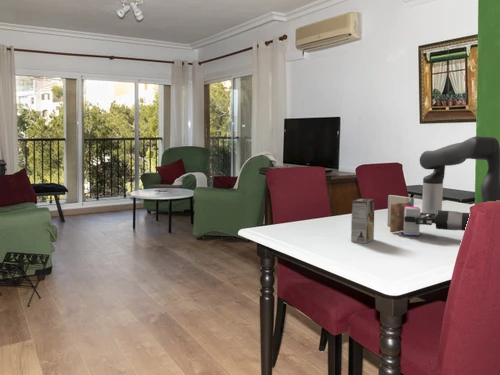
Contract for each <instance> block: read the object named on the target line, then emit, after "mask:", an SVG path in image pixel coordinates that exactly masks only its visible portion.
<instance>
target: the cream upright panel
mask: <svg viewBox="0 0 500 375" xmlns="http://www.w3.org/2000/svg"><path fill="white" fill-rule="evenodd" d="M387 197H388V198H387V221H386V222H387V223H386V224H387V227H390V219H391V204H394V203H402V202H410V207H415V206H414V204H415V198H414V197H409V196H408V197H407V196H401V195H395V194H393V195H392V194H389V195H387Z"/></svg>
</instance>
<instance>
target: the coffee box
mask: <svg viewBox="0 0 500 375" xmlns="http://www.w3.org/2000/svg"><path fill="white" fill-rule="evenodd" d="M350 225H351V228H350V230H351V233H350V242H351V243H357V244H364V245H365V244H369V243H370V242H371V241H373V240H374V238H375V235H374V234H375V199H373V198H357V199H354V200H352V201H351V224H350Z"/></svg>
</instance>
